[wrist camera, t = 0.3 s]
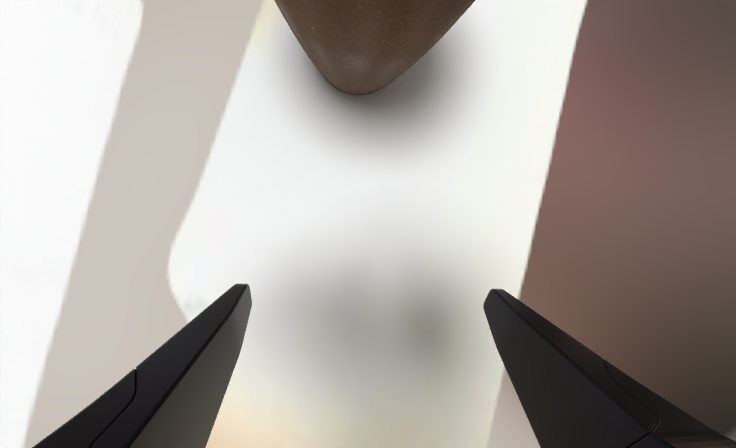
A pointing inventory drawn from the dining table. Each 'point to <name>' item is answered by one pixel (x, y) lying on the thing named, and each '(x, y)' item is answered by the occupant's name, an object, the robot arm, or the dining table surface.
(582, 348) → the robot arm
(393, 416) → the dining table surface
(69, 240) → the dining table surface
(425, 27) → the plant pot
